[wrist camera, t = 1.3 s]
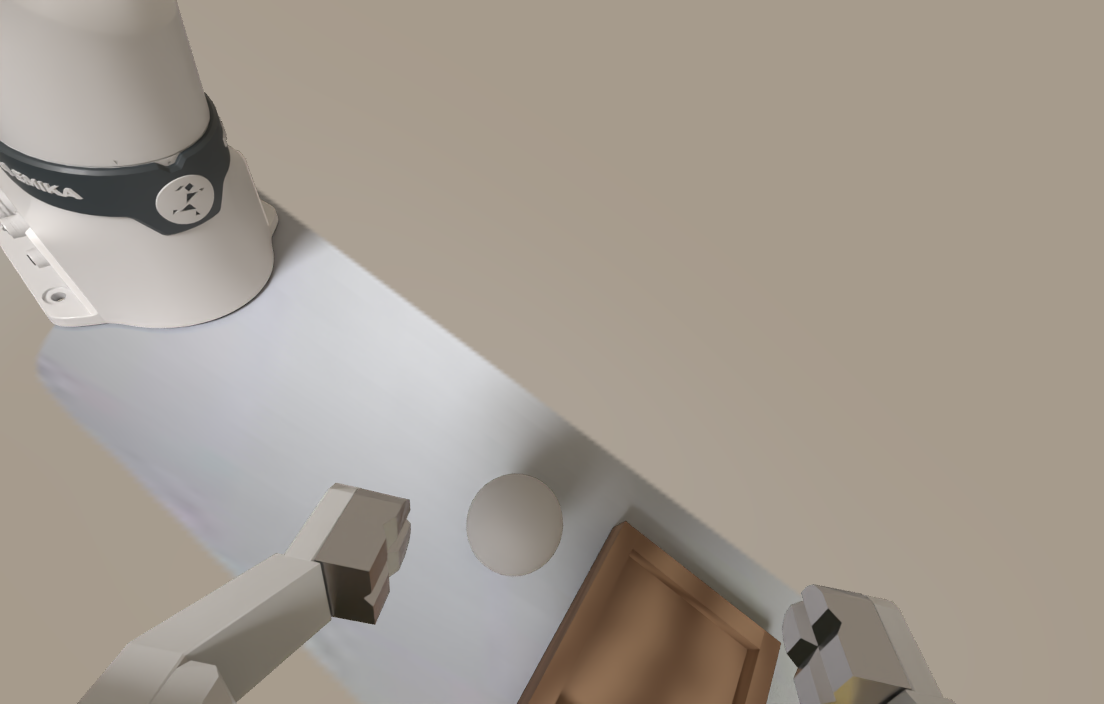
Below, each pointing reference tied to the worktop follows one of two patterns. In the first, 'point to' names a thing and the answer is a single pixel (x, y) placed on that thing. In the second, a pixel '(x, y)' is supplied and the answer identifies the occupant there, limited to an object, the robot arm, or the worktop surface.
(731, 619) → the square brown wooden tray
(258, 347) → the worktop surface
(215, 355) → the worktop surface
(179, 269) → the robot arm
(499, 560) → the lightbulb
